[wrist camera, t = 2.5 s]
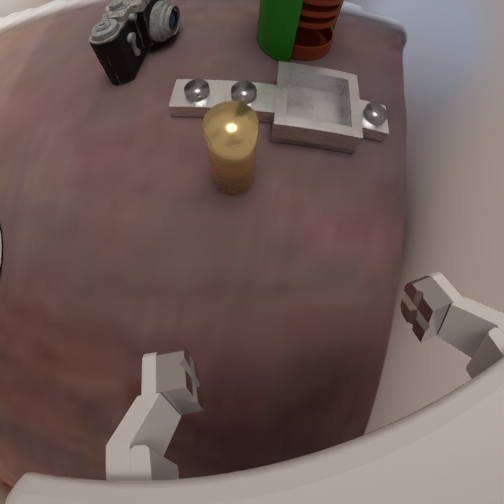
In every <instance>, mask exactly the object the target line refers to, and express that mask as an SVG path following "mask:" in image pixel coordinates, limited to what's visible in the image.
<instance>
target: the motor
mask: <svg viewBox="0 0 504 504" xmlns="http://www.w3.org/2000/svg"><path fill="white" fill-rule="evenodd" d="M343 1H344V0H260V9H259V20H258V32H257V41H258V44H259V46H260V47H261V48H262V50H263V51H264V52H265V53H266V54H268V55H269V56H270V57H272V58H274V59H276V60H278V61H282V62H290V58H292V59H296V60H304V61H310V60H317V59H320V58H322V57H324V56H325V55H326V54H327V53H328V51H329V49H330V46H331V43H332V40H333V38H334V33H333V30H334V27H335V24H336V21H337V18H338V15H339V13H340V10H341V7H342V4H343ZM297 39H300V40H301V41H297Z"/></svg>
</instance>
